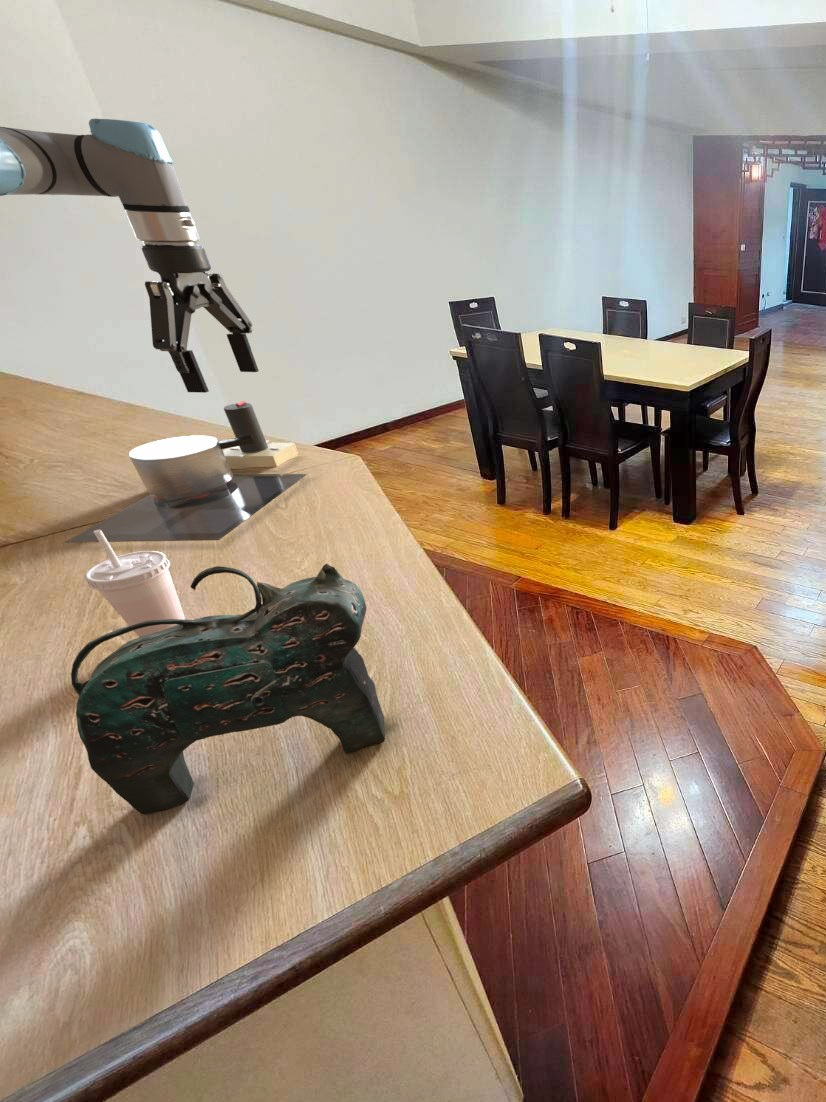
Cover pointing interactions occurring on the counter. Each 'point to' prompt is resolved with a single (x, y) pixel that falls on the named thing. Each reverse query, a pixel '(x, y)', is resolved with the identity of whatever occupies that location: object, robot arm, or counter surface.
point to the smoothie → (137, 587)
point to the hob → (193, 512)
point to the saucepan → (185, 465)
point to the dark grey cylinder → (246, 425)
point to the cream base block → (260, 456)
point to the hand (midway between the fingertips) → (225, 381)
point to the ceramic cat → (226, 684)
